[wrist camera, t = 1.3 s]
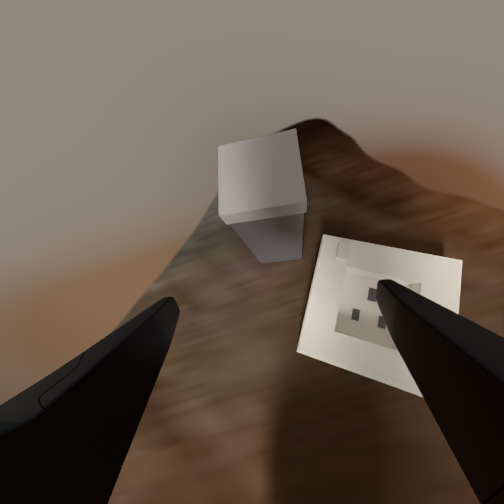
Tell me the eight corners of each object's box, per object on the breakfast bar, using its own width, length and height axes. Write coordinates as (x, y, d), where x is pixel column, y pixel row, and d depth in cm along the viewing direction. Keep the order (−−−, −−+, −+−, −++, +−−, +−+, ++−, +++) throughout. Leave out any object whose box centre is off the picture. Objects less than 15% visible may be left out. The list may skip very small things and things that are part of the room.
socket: (432, 395, 16) (457, 411, 14) (296, 347, 19) (296, 353, 17) (444, 265, 18) (467, 259, 16) (321, 241, 22) (323, 232, 19)
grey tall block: (302, 259, 21) (307, 201, 10) (260, 264, 22) (218, 215, 11) (297, 220, 23) (296, 128, 11) (257, 226, 24) (218, 146, 12)
